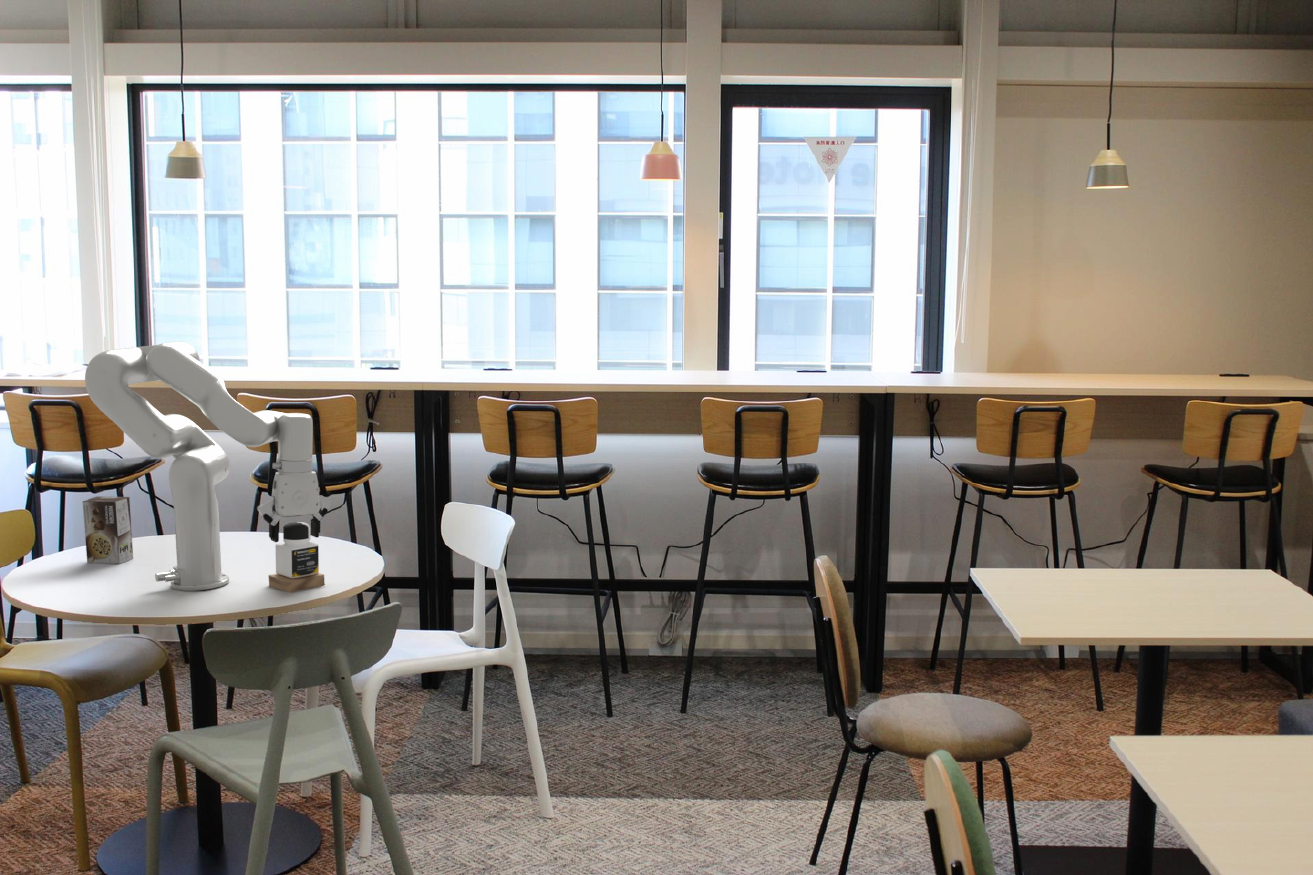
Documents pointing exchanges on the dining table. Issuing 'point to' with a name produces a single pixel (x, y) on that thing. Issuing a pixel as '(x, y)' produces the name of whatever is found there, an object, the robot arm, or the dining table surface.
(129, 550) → the coffee box
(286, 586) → the walnut riser block
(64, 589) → the dining table surface
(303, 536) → the medicine bottle
